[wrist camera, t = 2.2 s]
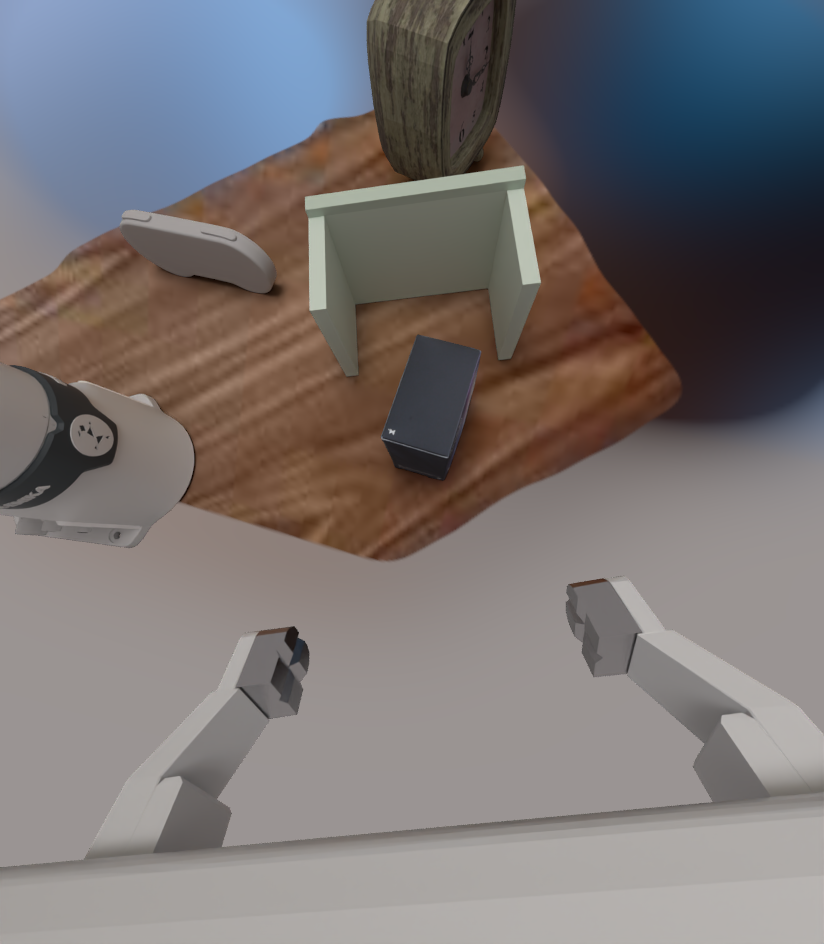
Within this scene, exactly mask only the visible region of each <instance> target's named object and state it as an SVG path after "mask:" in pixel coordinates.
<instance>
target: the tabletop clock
mask: <svg viewBox="0 0 824 944" xmlns="http://www.w3.org/2000/svg"><path fill="white" fill-rule="evenodd" d="M515 7H516V0H375V1H374V4H373V6H372V8H371V11H370V13H369V16H368V20H367V53H368V64H369V72H370V81H371V89H372V96H373V105H374V110H375V116H376V121H377V127H378V133H379V138H380V142H381V145H382V149H383V151H384V153H385V155H386V157H387V159H388V160H389V162H390V164H391V165H392V167H393V169H394V170H395V172H397V173H400V174H402V175H405V176H407V177H409V178H412V179H414V180H416V181H419V180H426V179H433V178H440V177H447V176H454V175H461V174H465V172H466V171H467V170H468V169H469V167H470V166H471V165H472V163H473V161H475V162H478V161H480V160H481V159H482V157H483V146H484V144H485V143H486V141H487V139H488V138H489V136H490V134H491V132H492V130H493V127H494V125H495V123H496V120H497V116H498V112H499V108H500V104H501V99H502V94H503V89H504V83H505V77H506V71H507V65H508V59H509V53H510V47H511V40H512V32H513V23H514V15H515Z"/></svg>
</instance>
